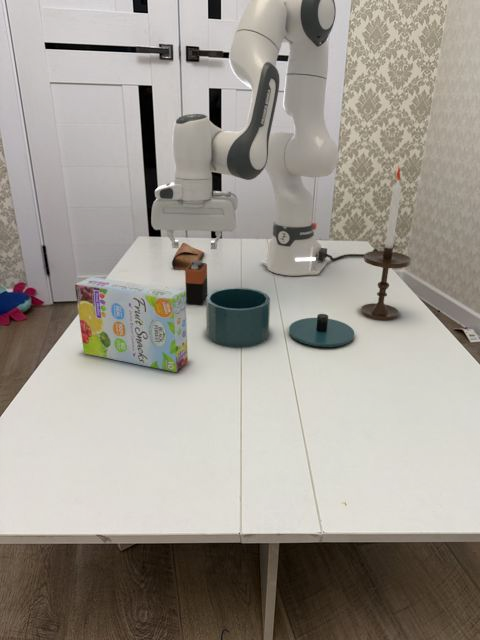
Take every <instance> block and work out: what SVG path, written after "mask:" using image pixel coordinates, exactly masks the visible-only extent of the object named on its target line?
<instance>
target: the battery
mask: <svg viewBox="0 0 480 640" xmlns="http://www.w3.org/2000/svg"><path fill="white" fill-rule="evenodd" d="M184 277H185V292H186V305H187V304H188V305H196V306H197V305H198V306H202V305H203V304H204V303H205V302H206V298H207V296H208V264H207V263H206V262H202V259H201V260H194V261H193V262H192V263H190V265H189V266H188V267H187V269H186V270H184Z"/></svg>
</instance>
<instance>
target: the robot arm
mask: <svg viewBox="0 0 480 640" xmlns="http://www.w3.org/2000/svg"><path fill="white" fill-rule="evenodd" d="M336 9H337V8H336V2H335V0H250V1H249V2H248V4H247V6H246V8H245V9H244V11H243V13H242V14H241V15H242V16H241V17H240V20H239V22H238V25H237V27H236V30H235V33H234V35H233V39H232V42H231V44H230V48H229V54H228V62H229V66H230V68H231V71H232V72H233V74H234V76H235V77H236V79H238V80H239V81H240V82H241V83H242V84H244V85H245V86H247V87H248V88H249V89H251V93H252V94H251V99H250V104H249V108H248V109H249V110H248V115H247V119H246V124H245V126H244V128H243V129H242V130H240V131H232V130H231V131H230V130H229V131H228V130H223V129H222V128H220V127H218V125H215V124H214V123H213V122H212V121H211V120H210V118H209V117H208V115H206V114H203V113H191V114H185V115H181V116H179V117H177V119H175V122H174V123H173V129H172V159H173V162H174V172H173V182H168V183H166V184H162V185H159V186H158V187H157V188H156V189H155V190H154V197H155V200H154V201H153V203H152V206H151V212H150V213H151V214H150V215H151V216H150V220H151V221H150V223H151V227H152V228H153V230H155V231H166V235H167V237H168V239H169V240H170V242H171V247H172V249H179V248H180V244H179V243H180V240H179V239H176V238H175V237H174V232H175V231H188V232H190V231H191V232H192V231H193V232H214V233H215V236H216V237H215V238H214V239H213V240H210V250H218V242H219V240H220V238H221V237H222V232H226V233H227V232H228V233H229V232H231V233H233V232H234V231H235V229H236V227H237V220H236V219H237V218H236V210H237V208H238V197H237V196H236V194H235V193H233V192H232V191H228V190H227V191H222V190H221V191H220V190H213V174H212V173H216V174H221V175H227V176H232V177H235V178H239V179H242V180H245V181H252V180H254V179H256V178H258V176H259V175H261V173H262V172H263V171H264V170H265V171H266V173H267V174H268V177H269V179H270V181H271V185H272V188H273V193H274V194H273V195H274V222H273V223H272V237H271V238H270V239H269V241H268V247H267V248H268V249H267V256H266V257H267V258H266V260H263V265H264V266H265V267H266V268H267V270H268V271H270V272H271V273H274V274H277V275H281V276H289V277H290V276H292V277H293V276H294V277H299V276H316V275H317V276H318V275H319V274H320V273H321V272H322V270H323V269H324V268H325V266H327V264H328V259H327V258H329V259H330V261H332V262H335V261H338V260H340V259H344V258H349V257H352V258H353V257H357V258H358V257H360V258H361V257H362V258H364V255H365V254H366V253H348V254H347V253H346V254H342V255H339V256H335V257H333V256H332V255H331V254H328V248H326V247H322V245H321V244H320V243H319V241H318V240H317V239H316V238H315V236H314V235H315V234H314V233H315V232H314V231H315V230H317V226H318V225H317V222H312V221H313V211H314V210H313V207H314V198H313V195H312V194H311V192H310V191H309V190H308V189H307V188H306V186H305V185H304V182H303V180H302V179H303V178H302V177H307V178H312V179H313V178H322V177H328V176H330V175H331V174H332V173H333V172H334V171H335V170H336V167H337V166H338V163H339V157H340V154H339V153H340V152H339V149H338V145H337V144H336V142H335V141H334V140H333V138H332V137H331V136H330V134H329V131H328V129H327V126H326V121H325V120H326V119H325V111H324V110H325V109H324V108H325V98H326V97H325V96H326V88H327V80H328V72H329V71H328V70H329V42H328V38H329V36H330V33H331V32H332V30H333V28H334V24H335V22H336V15H337V10H336ZM283 43H288V47H289V53H288V58H287V63H286V70H285V80H284V87H283V88H284V89H283V98H282V107H283V110H284V112H285V113H286V114H287V115H288V116H290V118H291V120H292V123H293V128H294V129H293V132H285V131H284V132H283V131H279V132H274V133H271V131H272V126H273V122H274V117H275V112H276V107H277V102H278V97H279V96H278V95H279V91H280V79H281V78H280V73H279V70H278V68H277V61H278V57H279V54H280V51H281V48H282V44H283ZM372 251H379V250H378V249H377V248H374V249H373V250H372Z"/></svg>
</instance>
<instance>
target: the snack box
mask: <svg viewBox="0 0 480 640" xmlns="http://www.w3.org/2000/svg"><path fill="white" fill-rule="evenodd" d="M74 290H75V298H76V304H77V312H78V320H79V326H80V334H81V335H80V336H81V342H82V350H83V354H85V355H88V356H89V355H90V356H94V357H100V358H105V359H111V360H115V361H119V362H125V363H130V364H135V365H140V366H145V367H149V368H155V369H160V370H163V371H169V372H173V373H177V372H178V371H179V370H180V369H181V368H183V366H185V365H186V364H187V363H188V362H189V359H188V358H189V356H188V353H189V352H188V329H187V324H188V323H187V303H186V290H185V289H176V288H170V287H163V286H155V285H149V284H142V283H136V282H129V281H122V280H115V279H109V278H101V277H96V276H89V277H87V278H85V279H83V280H81V281H79V282H76V283H75V284H74Z"/></svg>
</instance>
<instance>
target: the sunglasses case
mask: <svg viewBox="0 0 480 640" xmlns="http://www.w3.org/2000/svg"><path fill="white" fill-rule="evenodd" d="M204 255H205V252H204V251H203V250H200V249H197V248H195V247H192V246H191V245H190V244H188V243H186V242H182V243H181V244H180V246H179V248H177V251H176V252H175V254H174V256H173V259H172V261H171V265H172V267H173V268H174V269H175V270H182V271H183V270H184V271H185V270H186V269H187V267H188V266H189V265H190V263H192V262H193V261H194V260H201V261H202V258H203V257H204Z"/></svg>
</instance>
